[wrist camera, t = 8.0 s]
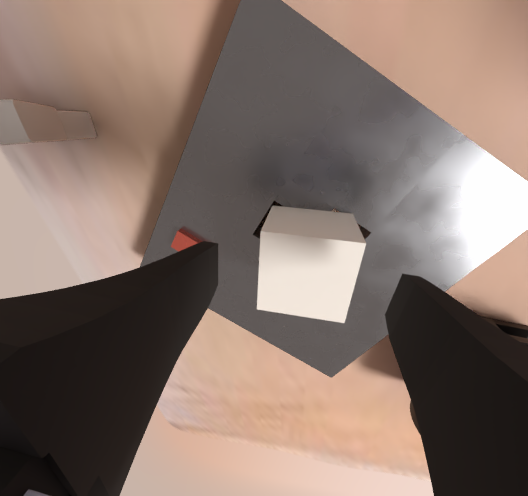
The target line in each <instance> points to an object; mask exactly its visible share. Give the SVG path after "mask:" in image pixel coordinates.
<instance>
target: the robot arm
mask: <svg viewBox="0 0 528 496" xmlns="http://www.w3.org/2000/svg"><path fill="white" fill-rule="evenodd" d="M217 286H218V243H212V242H206V241H203V242H200V243H197V244H195V245H192V246H190V247H188V248H186V249H183V250H181V251H179V252H176V253H174V254H172V255H170V256H167V257H165V258H163V259H160V260H157V261H155V262H152V263H150V264H147V265H145V266H142V267H140V268H137V269H134V270H131V271H128V272H125V273H122V274H118V275H115V276H112V277H109V278H105V279H101V280H97V281H93V282H89V283H85V284H81V285H76V286H73V287H68V288H64V289H59V290H54V291H48V292H43V293H37V294H31V295H25V296H19V297H12V298H6V299H0V496H119V495H120V493H121V490H122V487H123V485H124V482H125V480H126V478H127V475H128V472H129V470H130V467H131V465H132V462H133V460H134V457H135V455H136V452H137V450H138V447H139V445H140V443H141V440H142V438H143V435H144V433H145V431H146V428H147V426H148V423H149V421H150V419H151V416H152V414H153V412H154V409H155V407H156V405H157V403H158V401H159V398H160V396H161V394H162V392H163V389H164V387H165V385H166V383H167V381H168V378H169V376H170V374H171V372H172V370H173V368H174V366H175V364H176V361H177V359H178V358H179V356H180V354H181V352H182V350H183V348H184V347H185V345H186V343H187V342H188V340H189V338H190V337H191V335H192V333H193V332H194V330H195V329H196V327H197V325H198V324H199V322H200V320H201V318H202V317H203V315H204V313H205V312H206V310H207V308H208V307H209V305H210V303H211V300H212V298H213V296H214V294H215V291H216V289H217ZM385 318H386V324H387V329H388V334H389V339H390V342H391V345H392V348H393V350H394V353H395V356H396V359H397V362H398V365H399V367H400V370H401V373H402V376H403V379H404V381H405V384H406V387H407V390H408V392H409V395H410V398H411V401H412V404H413V408H414V411H415V414H416V418H417V422H418V426H419V430H420V434H421V438H422V442H423V446H424V451H425V455H426V460H427V464H428V469H429V473H430V478H431V482H432V487H433V493H434V496H528V346H526V345H524V344H523V343H521V342H519V341H518V340H516V339H514V338H513V337H511V336H510V335H508V334H506V333H505V332H503V331H502V330H500V329H499V328H497V327H495V326H494V325H492V324H491V323H489V322H488V321H486V320H485V319H483V318H482V317H480V316H479V315H477V314H476V313H474V312H473V311H471V310H470V309H468V308H467V307H466V306H464V305H463V304H461V303H460V302H458V301H457V300H455V299H454V298H453V297H451V296H450V295H448V294H447V293H445V292H444V291H443V290H441V289H440V288H438V287H437V286H435V285H434V284H432V283H430V282H429V281H427V280H426V279H424V278H422V277H420V276H415V275H409V274H403V273H402V276H401V278H400V280H399V283H398V285H397V287H396V290H395V292H394V294H393V297H392V299H391V301H390V304H389V306H388V308H387V311H386V313H385Z"/></svg>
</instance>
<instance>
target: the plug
mask: <svg viewBox="0 0 528 496" xmlns="http://www.w3.org/2000/svg"><path fill="white" fill-rule="evenodd" d="M365 246H366V242H365V239H364V237H363V235H362V233H361V231H360V228H359V226H358V224H357V222H356V220H355V217H354V215H353V214H351V213H342V212H332V211H322V210H312V209H303V208H293V207H283V206H272V208H271V210H270V212H269V214H268V216H267V218H266V221H265V223H264V225H263V227H262V229H261V233H260V254H259V274H258V295H257V309H258V310H264V311H270V312H277V313H283V314H289V315H296V316H302V317H308V318H314V319H321V320H327V321H333V322H340V323H345V319H346V316H347V312H348V308H349V305H350V301H351V297H352V294H353V290H354V286H355V283H356V279H357V275H358V272H359V268H360V265H361V261H362V257H363V254H364V250H365Z"/></svg>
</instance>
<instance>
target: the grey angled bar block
mask: <svg viewBox="0 0 528 496" xmlns="http://www.w3.org/2000/svg"><path fill="white" fill-rule="evenodd" d="M96 136H97V134H96V131H95V128H94V125H93V122H92V119H91V116H90V114H89V113H88V112H84V111H63V110H56V109H55V108H54V107H52V106H46V105H41V104H36V103H31V102H25V101H20V100H15V99H5V100H0V145H10V144H23V143H37V142H50V141H63V140H76V139H88V138H96Z"/></svg>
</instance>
